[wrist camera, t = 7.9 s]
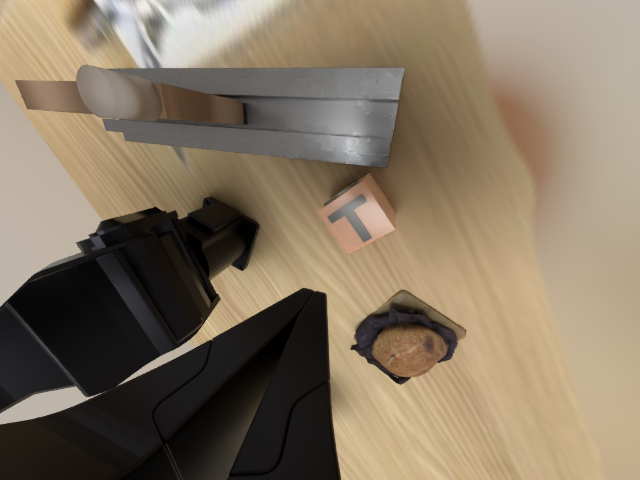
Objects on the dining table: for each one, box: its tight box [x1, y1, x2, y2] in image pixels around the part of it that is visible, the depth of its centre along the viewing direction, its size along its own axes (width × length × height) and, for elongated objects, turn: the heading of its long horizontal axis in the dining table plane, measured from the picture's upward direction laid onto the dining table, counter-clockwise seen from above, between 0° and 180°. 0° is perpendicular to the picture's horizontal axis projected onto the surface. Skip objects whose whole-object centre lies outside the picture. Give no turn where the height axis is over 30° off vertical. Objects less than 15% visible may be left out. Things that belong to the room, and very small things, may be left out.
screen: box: [15, 65, 244, 125], centre depth 15 cm, size 12×2×9 cm, turn 86°
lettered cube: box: [317, 173, 396, 255], centre depth 18 cm, size 4×4×4 cm
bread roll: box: [350, 290, 466, 385], centre depth 23 cm, size 11×8×4 cm
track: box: [103, 67, 405, 168], centre depth 18 cm, size 26×6×2 cm, turn 86°
